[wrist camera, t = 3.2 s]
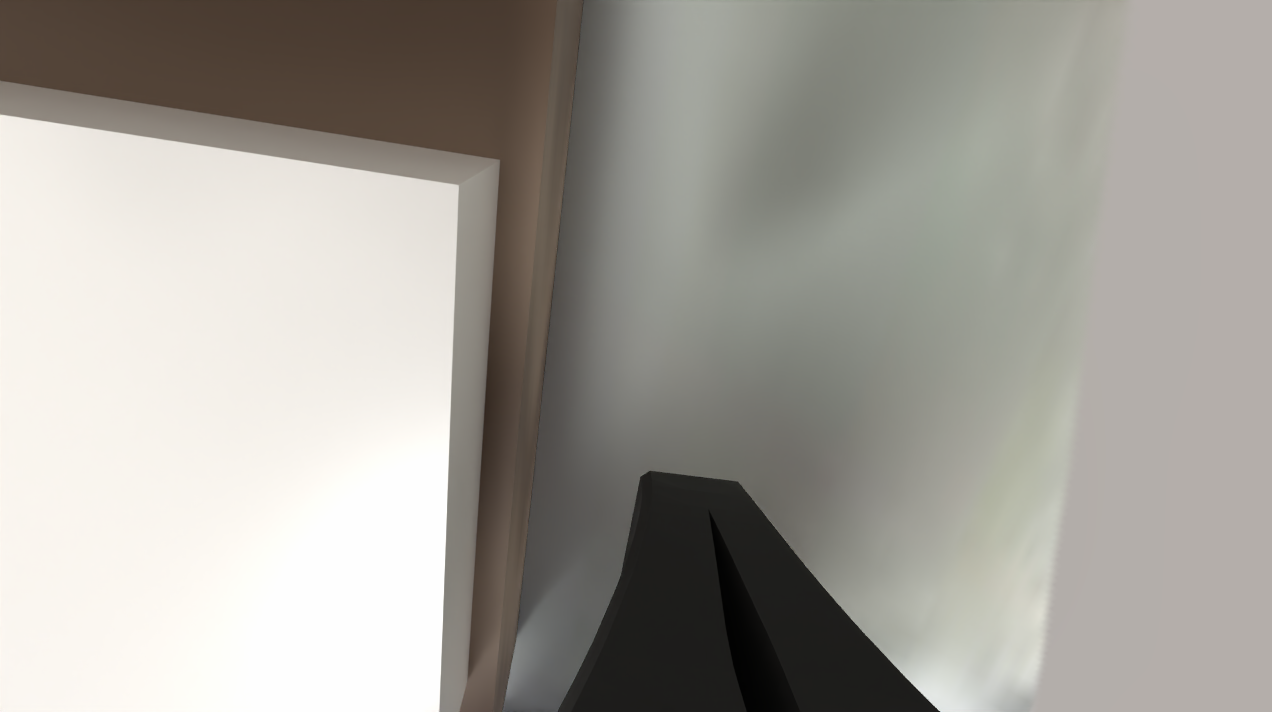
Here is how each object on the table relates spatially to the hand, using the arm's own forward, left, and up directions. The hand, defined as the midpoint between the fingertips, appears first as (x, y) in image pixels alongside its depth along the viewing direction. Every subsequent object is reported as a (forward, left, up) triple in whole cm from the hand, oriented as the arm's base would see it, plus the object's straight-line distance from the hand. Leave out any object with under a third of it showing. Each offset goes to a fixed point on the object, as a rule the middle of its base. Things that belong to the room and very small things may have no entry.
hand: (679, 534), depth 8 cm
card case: (0, +6, -1) cm, 6 cm away
